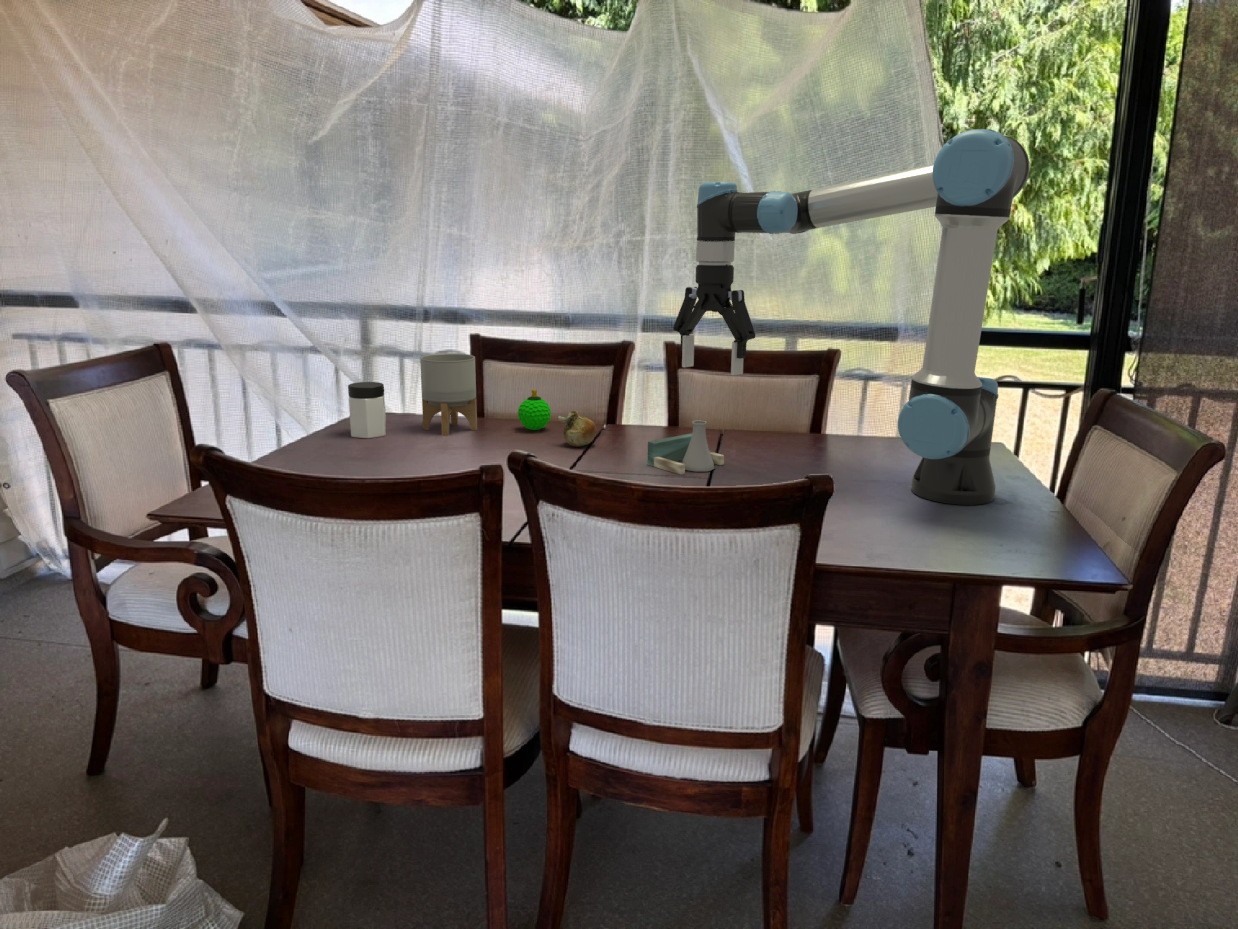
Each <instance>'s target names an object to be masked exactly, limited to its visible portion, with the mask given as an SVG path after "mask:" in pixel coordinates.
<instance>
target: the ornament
mask: <svg viewBox="0 0 1238 929" xmlns="http://www.w3.org/2000/svg"><path fill="white" fill-rule="evenodd" d="M530 390H531V396H528V397H527V398H526V399H524V400H523V401H522V402H521V403H520V404H519V406H518V411H517V414H518V415H517V417H518V418H519V422H520V423H521V425H522V426H524V427H525V429H527V430H531V431H540V430H542V429H544V428H545V427H546V426H547V425H548V423H549V422H550V421H551V417H552V414H551V413H552V411H551V407H550V405H549V403H548V402H546V401H545V399H542V397H541V396H538V394H537V392H538V389H530Z"/></svg>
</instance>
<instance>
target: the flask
mask: <svg viewBox="0 0 1238 929" xmlns="http://www.w3.org/2000/svg"><path fill="white" fill-rule="evenodd" d="M691 425H692V432H691V433H692V437H691V441H690V443H689V446H688V449H687V452H686V454H685V456H684V459H683V460H681V461H682V462H681V463H682V464H685V471H690V472H697V473H698V472H710V471H712V470H714V469H716V466H715V464H714V463H713V460H712V457H711V454H710V452H711V451H710V449H709V448H710V447H709V443H708V441H707V433H706V427H707V425H708V422H707V421H706V420H700V419H699V420H692V421H691Z"/></svg>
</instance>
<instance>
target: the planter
mask: <svg viewBox="0 0 1238 929" xmlns="http://www.w3.org/2000/svg"><path fill="white" fill-rule="evenodd" d="M419 358H420V359H419V360H420V361H419V362H420V364H419V366H420V383H421V384H420V385H421V405H422V429H423V430H424V431H426V430H430V429H431V427H430V426H431V422H432V420H433V418H434V416H435V415H437V414H439V413H440V422H441V426H440V427H441V436H442V437H443V436H447V437H448V436H449V435H450V424H451V425H452V426H458V425H459V414H461V415H462V416H464V418H466V420H467V422H468V423H469V426H470V431H476V432H477V430H478V413H477V412H478V411H477V409H478V408H477V384H476V381H477V378H476V377H477V376H476V356H474V355H473V354H466V353H454V352H453V353H449V352H447V353H434V354H433V353H432V354H426V355H422V356H421V357H419Z"/></svg>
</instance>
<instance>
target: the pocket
mask: <svg viewBox="0 0 1238 929" xmlns="http://www.w3.org/2000/svg"><path fill="white" fill-rule="evenodd" d="M691 437H692V432H690V433H686V434H681V435H676V436H670V437H665V438H660V439H656V440H649V441H647V466H648V465H649V466H651V467H653V468H658V469H660V470H664V471H667V472H671V473H673V474H677V475H685V474H686V473H685V472H686V470H685V464H682V462H680V461H683V459H684V456H685V454H686V452H687V449H688V446H689V443H690V441H691ZM710 454H711V457H712V460H713V463H714V465H717V466H724V465H725V455H724V454H720V453H717V452H713V451H710Z"/></svg>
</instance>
